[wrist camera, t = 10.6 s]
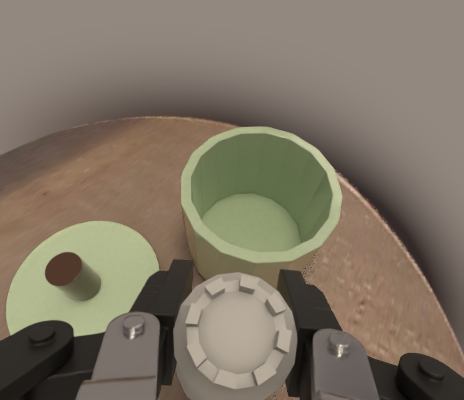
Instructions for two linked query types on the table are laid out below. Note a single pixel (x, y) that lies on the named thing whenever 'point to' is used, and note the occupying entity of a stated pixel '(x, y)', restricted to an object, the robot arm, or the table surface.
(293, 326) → the rook chess piece
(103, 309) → the jar lid
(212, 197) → the jar
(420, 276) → the table surface
